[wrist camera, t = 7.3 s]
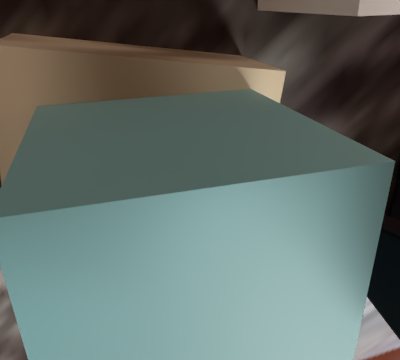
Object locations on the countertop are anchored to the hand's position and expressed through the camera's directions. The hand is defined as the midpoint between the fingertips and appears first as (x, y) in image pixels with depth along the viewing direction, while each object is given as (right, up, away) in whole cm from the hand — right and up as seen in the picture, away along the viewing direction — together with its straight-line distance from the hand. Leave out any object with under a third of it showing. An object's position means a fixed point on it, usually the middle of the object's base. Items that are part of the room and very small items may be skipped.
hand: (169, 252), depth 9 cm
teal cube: (-1, +1, +3) cm, 3 cm away
